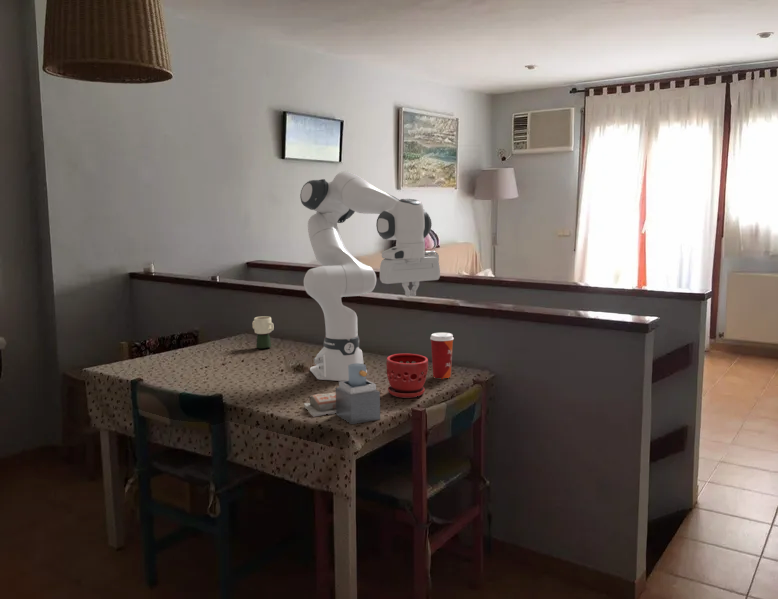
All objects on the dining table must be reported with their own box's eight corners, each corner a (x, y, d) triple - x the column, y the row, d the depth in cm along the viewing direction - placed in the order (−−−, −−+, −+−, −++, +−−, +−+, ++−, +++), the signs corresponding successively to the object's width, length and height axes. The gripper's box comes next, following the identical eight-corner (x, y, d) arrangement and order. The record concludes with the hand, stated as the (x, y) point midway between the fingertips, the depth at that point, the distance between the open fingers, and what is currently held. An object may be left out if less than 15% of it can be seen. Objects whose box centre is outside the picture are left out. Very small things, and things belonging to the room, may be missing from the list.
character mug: (279, 347, 282) (278, 317, 280) (268, 351, 276) (267, 320, 274) (259, 345, 287) (257, 315, 285) (248, 348, 281) (246, 318, 279)
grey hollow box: (336, 414, 193) (335, 381, 192) (364, 409, 198) (363, 376, 196) (351, 424, 185) (350, 389, 183) (380, 419, 189) (379, 384, 188)
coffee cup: (455, 379, 230) (455, 336, 227) (431, 380, 229) (431, 337, 227) (451, 373, 238) (451, 331, 236) (428, 374, 237) (428, 332, 235)
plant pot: (385, 400, 207) (385, 362, 205) (387, 388, 220) (387, 352, 218) (428, 400, 206) (428, 362, 204) (427, 388, 219) (427, 352, 217)
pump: (345, 388, 191) (345, 364, 190) (361, 386, 193) (361, 362, 192) (356, 394, 185) (356, 370, 184) (372, 392, 187) (372, 367, 186)
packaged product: (359, 386, 207) (371, 394, 198) (360, 401, 208) (371, 410, 199) (303, 392, 200) (312, 401, 191) (303, 408, 201) (313, 418, 192)
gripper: (433, 249, 216) (433, 292, 218) (376, 252, 206) (377, 297, 208) (444, 251, 210) (444, 294, 212) (386, 254, 201) (387, 300, 203)
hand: (410, 296), depth 210 cm, fingers closed
